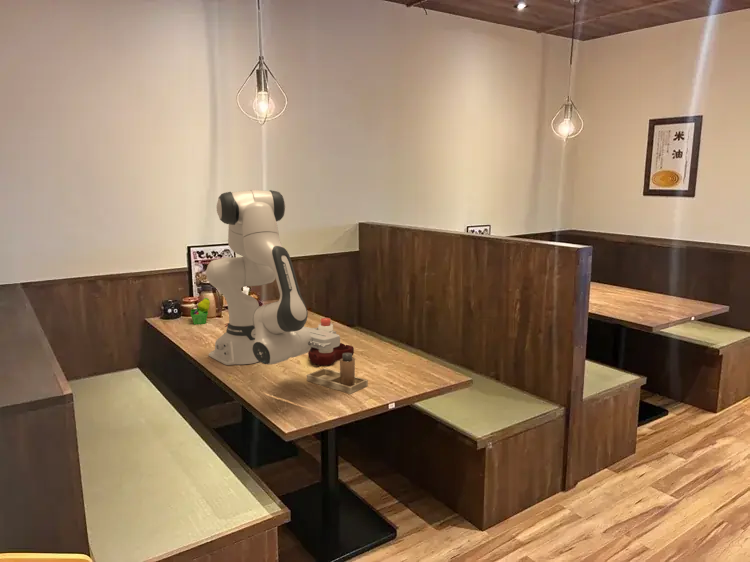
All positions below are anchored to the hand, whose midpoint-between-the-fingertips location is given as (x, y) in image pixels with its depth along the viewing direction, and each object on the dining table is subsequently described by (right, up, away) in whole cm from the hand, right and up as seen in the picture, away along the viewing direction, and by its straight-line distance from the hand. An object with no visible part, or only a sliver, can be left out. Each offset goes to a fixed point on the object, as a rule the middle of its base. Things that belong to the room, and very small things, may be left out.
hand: (327, 331), depth 192 cm
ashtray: (-3, -14, +27) cm, 30 cm away
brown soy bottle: (+7, -18, -3) cm, 19 cm away
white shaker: (-1, -7, 0) cm, 7 cm away
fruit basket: (-66, -3, +79) cm, 103 cm away
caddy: (+3, -18, 0) cm, 18 cm away
